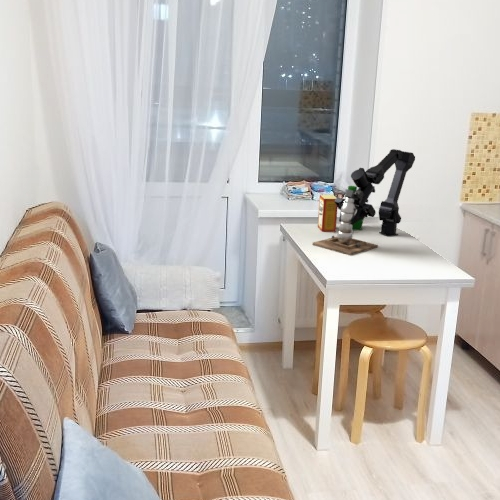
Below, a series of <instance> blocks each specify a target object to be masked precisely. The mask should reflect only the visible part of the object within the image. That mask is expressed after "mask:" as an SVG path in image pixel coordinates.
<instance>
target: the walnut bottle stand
mask: <svg viewBox="0 0 500 500" xmlns="http://www.w3.org/2000/svg"><path fill="white" fill-rule="evenodd" d="M312 246H314V247H315V246H316V247H319V248H323V249H327V250H329V251H333V252H334V251H335V252H337V253H340V254H343V255H348V256H353V255H356V254H359V253H362V252H363V253H364V252H367V251H369V250H373V249H376V248H378V247H379V245H378V244H375V243H372V242H368V241H365V240H364V241H363V240H361V239H356V238H353V237H352V240H351V241H350V242H348V243H345V242H340V241H339V240H338V238H337V236H335V235H331V237H330V238H326V239H322V240H318V241H314V242H312Z"/></svg>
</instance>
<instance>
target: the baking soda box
mask: <svg viewBox="0 0 500 500" xmlns="http://www.w3.org/2000/svg"><path fill="white" fill-rule="evenodd" d="M336 198H337V196H335V195H334V194H319V200H318V202H319V203H318V217H317V227H318V229H319V230H320V231H321V232H323V233H325V232H326V233H328V232H329V233H336V232H337V220H338V215H337V214H338V207H337V206H336V204H335V203H334V201H335V200H336Z"/></svg>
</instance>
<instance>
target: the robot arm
mask: <svg viewBox="0 0 500 500" xmlns="http://www.w3.org/2000/svg"><path fill="white" fill-rule="evenodd" d="M415 160H416V156H415V154H414V153H413V152H409V151H403V150H401V149H395V148H393V149H390V150H389V153H388V154H387V155H385V157H384V158H383V159H382V160H381V161H379V162H378V164H377V165H374V166H371V167H369V168H368V169H366V171H365V168H364V167H359V168H358V169H355V170H353V172H351V174H350V178H351V180H352V182H353V183H354V186H356V187H357V191H352V190H348V189H346V191H345V193H344V198H341V197H336V200H335V201H334V203H335V204H336V206H337V210H339V211H340V213H339V219H338V222H339V223H341V207H342V206H343V205H344V203H345V202H346V201H345V200H346V197H350V198H354V203H353V204H354V205H355V208H356V210H357V212H356V214H355V216H354V218H353V219H352V221H351V225H353V224H354V223H356V222H358V221H359V220H361V219H363V218H364V219H365V218H368V217H369V218H374V217H375V215H376V214H377V213H376V209H375V208H374V206H373V205H372V204H369V197H370V195H371V194H372V193H376V189H375V187H376V186H374V185H380V184H381V182H382V181H383V180H384V179H385V174H386V173H387V172H388V171H389V170H390V169H391V168H392V166H393V165H395V166H394V167H395V172H394V175H393V178H392V182H391V184H390V188H389V190H388V194H387V197H386V199H385V200H384V201H383V200H382V201H380V206H379V208H378V219H379V221H381V223H382V224H381V226H380V231H379V233H378V234H381V235H383V236H386V237H392V236H398V235H399V233H397V226H398V224H400V223H401V221H402V216H401V215H400V213H399V209H400V207H399V203H398V201H399V198H400V196H401V191H402V188H403V186H404V185H403V184H404V181H405V178H406V175H407V173H408V171H409V170H410V169H412V167H413V165H414V163H415ZM373 184H374V185H373Z"/></svg>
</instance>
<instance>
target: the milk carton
mask: <svg viewBox="0 0 500 500" xmlns="http://www.w3.org/2000/svg"><path fill="white" fill-rule="evenodd" d="M347 188H348V189H347V190H352V191H357V190H358V187H357V186H356V185H349V186H348V187H347ZM356 212H357V210H356ZM356 212H355V214H356ZM364 220H365V218H363V219H361V220H359V221H358V222H356V223H354V224H353V226H352V230H353V231H354V230H355V231H361V230H362V227H363V223H364Z"/></svg>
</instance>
